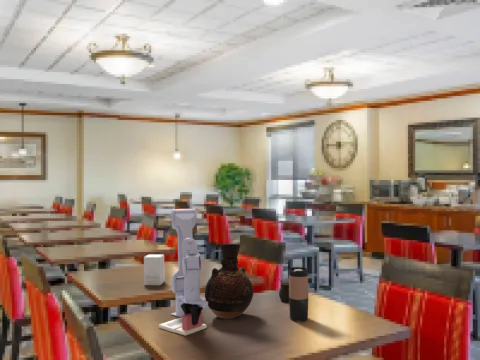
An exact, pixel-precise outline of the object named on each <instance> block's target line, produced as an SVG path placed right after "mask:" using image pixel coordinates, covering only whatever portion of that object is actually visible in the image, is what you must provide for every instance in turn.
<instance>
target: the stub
mask: <svg viewBox="0 0 480 360" xmlns="http://www.w3.org/2000/svg"><path fill="white" fill-rule="evenodd" d="M207 326H208V324H205V323H203V311H201V313H200V316H199V320H198V324H196V325H193V324H192V315H191V313H189V314H186V315H183V316H182V327H181V328H179V329H176V334H179V335H182V336H189V335H191V334H194V333H197V332H200V331H201V330H205V329H207Z"/></svg>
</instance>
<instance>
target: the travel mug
mask: <svg viewBox="0 0 480 360" xmlns="http://www.w3.org/2000/svg"><path fill="white" fill-rule="evenodd" d="M288 270H289V271H288V274H289V275H288V282H289V302H288V303H289V305H288V306H289V318H290V320H291V321H294V322H306V321H308V319H309V317H308V316H309V269H308V268H307V267H302V266H301V267H300V266H296V267H295V266H293V267H289V269H288Z"/></svg>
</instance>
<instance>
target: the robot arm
mask: <svg viewBox="0 0 480 360" xmlns="http://www.w3.org/2000/svg"><path fill="white" fill-rule="evenodd" d="M170 214H171V228H172V229H173V230H175V231H176V234H177V261H178V263H177V264H178V269H177V270H175V271H174V272H173V273H172V275H171V290H172V293H173V294H175V312H172V313H170V315H172V316H175V317H178V318H182V316H183V315H186V314H189V313H191V315H192V324H193V325H196V324H198V320H199V316H200V313H201V312H203V309H206V308H209V307H208V302H207V301H206V300H204V299H202V298H201V296H200V295H201V292H200V291H201V289H200V288H201V286H200V285H201V284H200V283H201V282H200V281H201V280H200V279H201V278H200V274H201V273H200V272H201V271H200V270H201V269H202V257H201V254H200V252H199V251H198V245H197V240H195V239H194V236H193V235H194V234H193V229H194V228H195V225H196V223H197V218H198V217H197V215H198V214H197V210H196V208H177V209H175V208H173V209H172V210H171V213H170Z"/></svg>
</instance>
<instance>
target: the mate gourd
mask: <svg viewBox="0 0 480 360" xmlns="http://www.w3.org/2000/svg"><path fill="white" fill-rule="evenodd" d="M278 281H280V288H279V292H278V298H279V299H280V300H281V301H282V302H287V303H289V281H284V282H282V280H281V279H280V278H278Z"/></svg>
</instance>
